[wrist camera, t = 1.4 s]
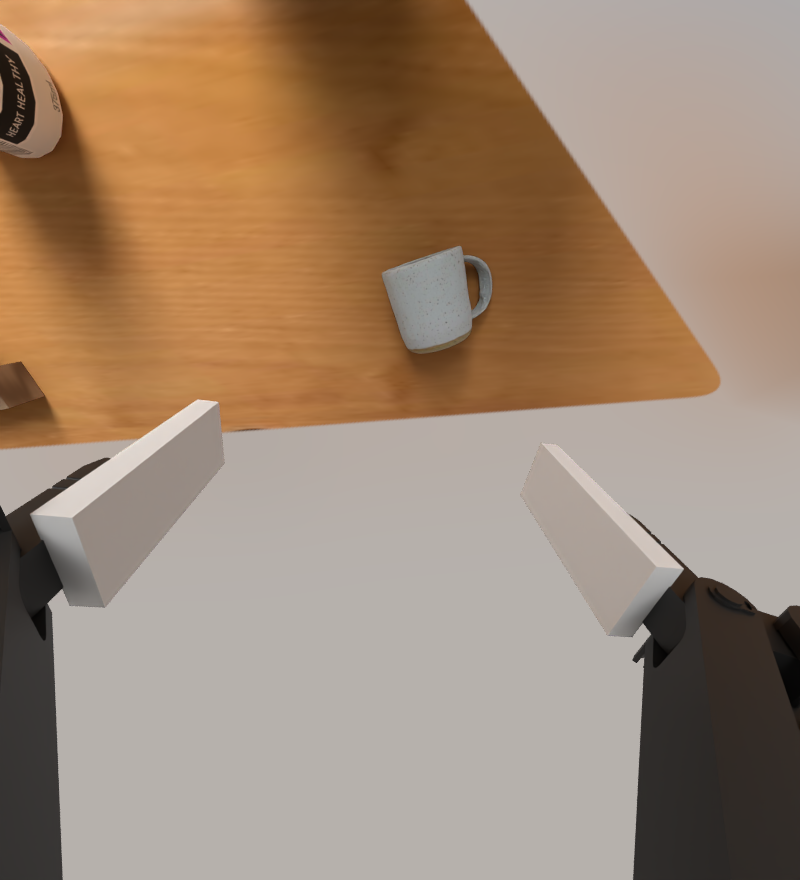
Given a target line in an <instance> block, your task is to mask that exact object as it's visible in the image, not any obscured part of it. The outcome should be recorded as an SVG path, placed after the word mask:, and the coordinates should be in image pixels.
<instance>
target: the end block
mask: <svg viewBox="0 0 800 880" xmlns="http://www.w3.org/2000/svg"><path fill="white" fill-rule="evenodd" d="M43 396H44V394H43V393H42V391H41V390H40V388H39V387H38V386H37V384H36V383H35V381H34V380H33V379H32V377H31V376H30V374H29V373H28V371H27V370H26V369H25V367H24V366H23V364H22V363H21V362H16V363H11V364H6V365H2V366H0V410H3V409H8V408H11V407H14V406H17V405H20V404H23V403H26V402H29V401H32V400H35V399H37V398H40V397H43Z"/></svg>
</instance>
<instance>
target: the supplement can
mask: <svg viewBox="0 0 800 880" xmlns="http://www.w3.org/2000/svg"><path fill="white" fill-rule="evenodd" d="M62 122H63V114H62V109H61V105H60V100H59V95H58V92H57V90H56V88H55V86H54V84H53V82H52V80H51V78H50V76H49V74H48V71H47V69H46V68H45V67H44V65H43V64H42V63H41V61H40V60H39V59H38V58H37V56H36V55H35V54H34V52H33V51H32V50H31V49H30V47H29V46H28V45H27V44H25V43H24V42H23V41H22V40H20V39H19V38H18V37H17V36H16V35H14V34H13V33H12V32H11V31H9V30H8V29H7V28H6V27H4V26H3V25H1V24H0V151H3V152H6V153H9V154H11V155H14V156H17V157H20V158H40V157H42V156H44V155H45V154H47V153H49V152H51V151H53V149H54V148H55V146H56V144H57V142H58V141H59V139H60V137H61V133H62Z"/></svg>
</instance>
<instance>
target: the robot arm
mask: <svg viewBox="0 0 800 880" xmlns="http://www.w3.org/2000/svg"><path fill="white" fill-rule="evenodd" d="M223 465H224V454H223V442H222V432H221V421H220V410H219V402H214V401H206V400H198V399H197V400H196V401H195V402H193V403H192V404H190V405H189V406H187V407H186V408H184V409H183V410H181V411H180V412H178V413H177V414H176V415H174V416H173V417H171V418H170V419H168V420H167V421H165V422H164V423H162V424H161V425H159V426H158V427H157V428H155V429H154V430H152V431H151V432H149V433H148V434H146V435H145V436H143V437H142V438H140V439H139V440H138V441H136V442H135V443H133V444H132V445H130V446H129V447H127V448H126V449H124V450H123V451H121V452H120V453H119V454H117V455H116V456H114V457H113V458H103V459H101V460H98V461H96V462H93V463H90V464H88V465H85V466H83V467H81V468H80V469H78V470H77V471H75V472H74V473H72V474H71V475H69V476H67V478H66V479H63V480H61V481H60V482H58V483H56V484H55V485H53V487H52V489H47V490H46V491H44V492H43V493H41V494H39V495H38V496H36V497H35V498H33V499H32V500H31V501H29V502H27V503H25V504H24V505H23V506H21V507H19V508H18V509H16V510H15V511H13V512H12V513H10V514H8V515H7V516H5V514H4V512H3V510H2V508H1V506H0V880H63V879H62V855H61V854H62V853H61V829H60V804H59V778H58V753H57V728H56V706H55V678H54V653H53V629H52V612H51V610H50V608H49V606H48V604H47V603H48V602H49V601H50V600H51V599H52V598H53V597H54V596H55V595H56V594H57V593H58V592H59V591H60V590H61V589H63V591H64V594H65V596H66V598H67V601H68V603H69V605H70V606H86V607H87V606H88V607H104V608H105V607H106V606H107V605H108V603H109V602H110V601H111V600H112V598H113V597H114V596H115V595H116V594H117V593H118V591H119V590H120V589H121V588H122V587H123V585H124V584H125V583H126V582H127V580H128V579H129V578H130V577H131V576H132V574H133V573H134V572H135V571H136V570H137V568H138V567H139V566H140V565H141V564H142V562H143V561H144V560H145V559H146V557H147V556H148V555H149V554H150V552H152V550H153V549H154V548H155V547H156V546H157V544H158V543H159V542H160V541H161V540H162V538H163V537H164V536H165V535H166V533H167V532H168V531H169V530H170V529H171V527H172V526H173V525H174V524H175V523H176V521H177V520H178V519H179V518H180V517H181V515H182V514H183V513H184V512H185V511H186V509H187V508H188V507H189V506H190V505H191V503H192V502H193V501H194V500H195V499H196V497H197V496H198V495H199V493H200V492H201V491H202V490H203V489H204V488H205V486H206V485H207V484H208V483H209V481H210V480H211V479H212V478H213V477H214V476H215V474H216V473H217V472H218V471H219V470H220V468H221V467H222V466H223ZM521 497H522V499H523V500H524V502H525V503H526V505H527V507H528V508H529V510H530V511H531V513H532V515H533V516H534V518H535V519H536V521H537V523H538V524H539V526H540V528H541V529H542V531H543V532H544V534H545V536H546V537H547V539H548V540H549V542H550V544H551V545H552V547H553V548H554V550H555V552H556V553H557V555H558V557H559V558H560V560H561V561H562V563H563V565H564V566H565V567H566V569H567V571H568V573H569V574H570V576H571V578H572V579H573V581H574V582H575V584H576V586H577V587H578V589H579V590H580V592H581V594H582V595H583V597H584V598H585V600H586V602H587V603H588V605H589V606H590V608H591V610H592V611H593V613H594V615H595V616H596V618H597V619H598V621H599V623H600V624H601V626H602V627H603V629H604V631H605V632H606V634H607V635H608V636H621V637H633V635H634V634H635V633H636V631H637V630H638V629H639V627H640V626H641V625H642V623H643V624H644V625H645V626H646V628H647V629H648V630H649V631H650V633H651V635H650V637H649V638H648V639H647V640H646V642H645V643H644V644H643V645H642V647H641V648H640V649H639V650H638V652H637V653H636V654H635V655H634V658H633V661H634V662H636V663H637V662H638V661H639V660H640V658H644V666H643V668H644V677H643V698H642V717H641V736H640V737H641V738H640V757H639V776H638V796H637V816H636V835H635V855H634V874H633V880H800V606H789V607H788V608H787V609H786V610H785V611H784V612H783V613H782V614H781V615H780V616H779V617H776V616H773V615H770V614H767V613H763V612H761V611H757V609H756V608H755V607H754V606H753V605H752V604H751V603H750V602H749V601H748V600H747V599H746V598H745V597H744V596H742V595H741V594H739V593H738V592H737V591H735V590H734V589H732V588H730V587H728V586H727V585H725V584H723V583H720V582H718V581H715V580H713V579H709V578H703V577H701V578H698V577H697V576H696V575H695V574H694V573H693V572H692V571H691V570H690V569H689V568H688V567H686V566H685V565H684V563H682V562H681V561H680V560H679V559H678V558H677V557H676V556H675V555H674V554H673V553H672V552H671V551H670V550H669V549H668V548H667V547H666V546H665V545H664V544H661V541H660V540H659V539H658V538H657V537H656V536H655V535H653V534H651V532H650V531H649V530H648V529H647V528H646V527H645V526H644V525H643V524H642V523H641V522H640V521H638V520H637V519H636V518H634V517H633V516H631V515H630V514H628V513H627V512H625V511H624V510H623V509H622V508H621V507H620V506H619V505H618V504H617V503H616V502H615V501H614V500H613V499H612V498H611V497H610V496H609V495H608V494H607V493H606V492H605V491H604V490H603V489H602V488H601V487H600V486H599V485H598V484H597V483H596V482H595V481H594V480H593V479H592V478H591V477H590V476H589V475H588V474H587V473H586V472H585V471H584V470H583V469H582V468H581V467H580V466H579V465H578V464H577V463H576V462H575V461H573V460H572V459H571V458H570V457H569V456H568V455H567V454H566V453H565V452H564V451H563V450H562V449H561V448H560V447H559V446H558V445H554V444H547V443H541V444H540V446H539V449H538V452H537V454H536V456H535V459H534V461H533V464H532V466H531V469H530V471H529V474H528V477H527V479H526V482H525V484H524V487H523V489H522V492H521Z"/></svg>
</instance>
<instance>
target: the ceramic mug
mask: <svg viewBox="0 0 800 880" xmlns="http://www.w3.org/2000/svg"><path fill="white" fill-rule="evenodd" d="M464 262H469V263H471V264H472V265H473V266H475V268H476V269H477V272H478V275H479V285H480V292H479V295H480V299H479V302H478V304H477V305H476V307H475V308H474V309H473V310H472V311H471V305H470V301H469V295H468V287H467V280H466V272H465V265H464ZM382 278H383V282H384V284H385V287H386V290H387V293H388V297H389V300H390V303H391V306H392V309H393V312H394V315H395V318H396V321H397V324H398V327H399V330H400V333H401V337H402V339H403V341H404V343H405V345H406V347H407V348H408V349H409V350H410V351H411V352H414V353H419V354H424V353H431V352H436V351H440V350H443V349H446V348H449V347H451V346H454V345H456V344H458V343H460V342H462V341H463V340H465V339H466V338H467V337H468V336H469V334H470V333H471V330H472V319H473V318H475V317H477V316H478V315H480V314H481V313H482V312H483V311H484V310H485V309H486V307H487V305H488V303H489V301H490V298H491V294H492V277H491V273H490V270H489V267H488V266H487V264H486V263H485V262H484V261H483V260H481V259H480V258H478V257H475V256H470V255H463V251H462V247H461V246H456V247H453V248H450V249H447V250H444V251H440V252H437V253H434V254H431V255H428V256H426V257H423V258H419V259H417V260H414V261H411V262H408V263H405V264H402V265H400V266H397V267H394V268H392V269H389V270H387V271H385V272H383V273H382Z"/></svg>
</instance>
